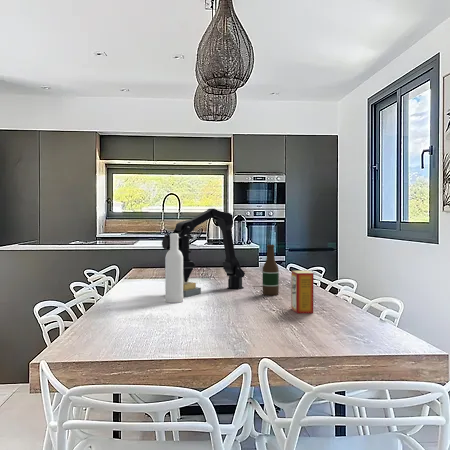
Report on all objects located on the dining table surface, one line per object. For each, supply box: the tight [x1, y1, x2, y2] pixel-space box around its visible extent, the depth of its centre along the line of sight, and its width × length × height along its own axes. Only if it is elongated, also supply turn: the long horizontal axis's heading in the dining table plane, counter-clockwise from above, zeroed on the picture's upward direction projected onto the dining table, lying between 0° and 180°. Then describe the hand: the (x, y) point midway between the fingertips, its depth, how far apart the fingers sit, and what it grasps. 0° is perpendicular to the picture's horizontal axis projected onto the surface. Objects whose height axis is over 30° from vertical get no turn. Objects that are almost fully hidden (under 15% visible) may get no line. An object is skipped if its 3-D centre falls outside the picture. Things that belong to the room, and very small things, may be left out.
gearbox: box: [183, 281, 202, 298], centre depth 233 cm, size 14×12×6 cm
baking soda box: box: [290, 269, 314, 314], centre depth 193 cm, size 10×6×16 cm
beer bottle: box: [262, 244, 280, 297], centre depth 233 cm, size 8×8×24 cm
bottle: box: [164, 232, 184, 304], centre depth 214 cm, size 8×8×30 cm
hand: (183, 281), depth 233 cm, fingers open, 7 cm apart
